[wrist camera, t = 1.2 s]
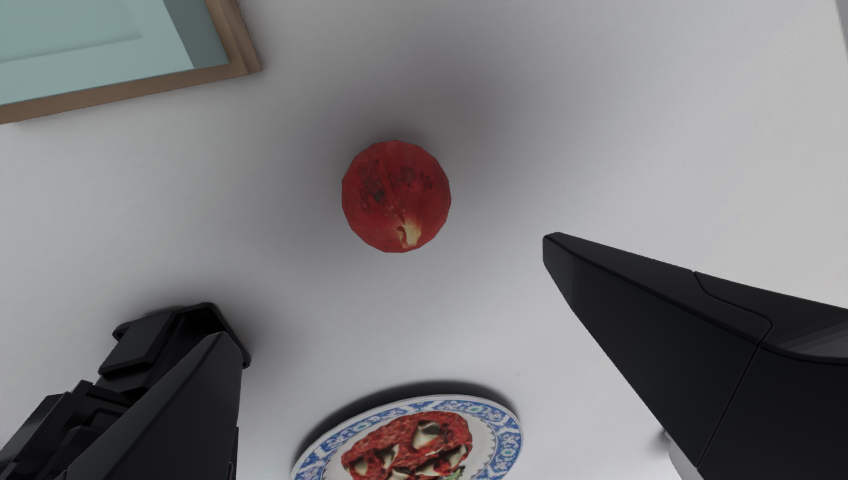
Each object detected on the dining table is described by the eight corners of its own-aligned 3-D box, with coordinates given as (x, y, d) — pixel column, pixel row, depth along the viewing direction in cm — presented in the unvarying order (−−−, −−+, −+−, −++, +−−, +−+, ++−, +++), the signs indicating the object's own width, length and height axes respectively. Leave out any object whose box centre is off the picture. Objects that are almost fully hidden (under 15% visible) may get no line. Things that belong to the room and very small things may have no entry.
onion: (321, 165, 20) (310, 226, 13) (399, 106, 19) (429, 140, 13) (379, 231, 23) (394, 309, 16) (449, 183, 22) (495, 243, 16)
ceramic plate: (236, 445, 31) (227, 480, 29) (488, 340, 31) (501, 366, 29) (355, 530, 45) (356, 559, 43) (531, 457, 45) (542, 482, 43)
